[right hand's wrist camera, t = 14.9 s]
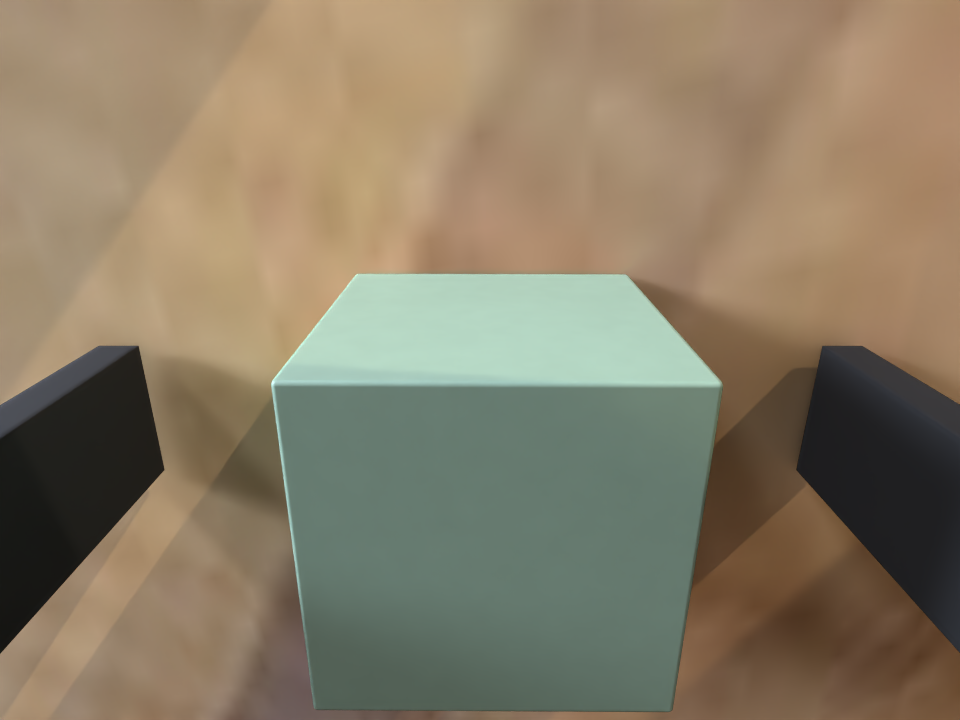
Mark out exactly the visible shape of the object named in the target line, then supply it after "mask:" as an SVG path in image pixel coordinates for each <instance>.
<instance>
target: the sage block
mask: <svg viewBox="0 0 960 720" xmlns="http://www.w3.org/2000/svg"><path fill="white" fill-rule="evenodd" d="M271 386H272V394H273V401H274V409H275V416H276V424H277V432H278V439H279V447H280V454H281V462H282V469H283V477H284V485H285V492H286V500H287V507H288V515H289V522H290V530H291V538H292V545H293V553H294V560H295V568H296V576H297V583H298V591H299V598H300V606H301V613H302V621H303V629H304V636H305V644H306V651H307V659H308V666H309V674H310V682H311V689H312V697H313V704H314V708H315V709H316V710H404V711H574V712H670V711H672V710H673V703H674V697H675V690H676V684H677V678H678V671H679V665H680V658H681V652H682V646H683V639H684V633H685V626H686V620H687V614H688V607H689V601H690V594H691V588H692V582H693V575H694V569H695V563H696V556H697V550H698V543H699V537H700V531H701V524H702V518H703V511H704V505H705V499H706V492H707V486H708V479H709V473H710V467H711V460H712V454H713V447H714V441H715V435H716V428H717V422H718V416H719V409H720V403H721V396H722V390H723V384H722V382H721V380H720V379H719V378H718V377H717V376H716V375H715V374H714V373H713V371H712V370H711V369H710V368H709V367H708V366H707V365H706V364H705V362H704V361H703V360H702V359H701V358H700V357H699V356H698V354H697V353H696V352H695V351H694V350H693V349H692V348H691V347H690V345H689V344H688V343H687V342H686V341H685V340H684V339H683V338H682V336H681V335H680V334H679V333H678V332H677V331H676V330H675V328H674V327H673V326H672V325H671V324H670V323H669V322H668V321H667V319H666V318H665V317H664V316H663V315H662V314H661V313H660V312H659V310H658V309H657V308H656V307H655V306H654V305H653V304H652V303H651V301H650V300H649V299H648V298H647V297H646V296H645V295H644V293H643V292H642V291H641V290H640V289H639V288H638V287H637V286H636V284H635V283H634V282H633V281H632V280H631V279H630V278H629V277H628V276H627V275H606V274H357V275H356V276H355V277H354V278H353V279H352V281H351V282H350V283H349V284H348V286H347V287H346V288H345V290H344V291H343V292H342V293H341V295H340V296H339V297H338V298H337V300H336V301H335V302H334V303H333V305H332V306H331V307H330V309H329V310H328V311H327V312H326V314H325V315H324V316H323V317H322V319H321V320H320V321H319V322H318V324H317V325H316V326H315V327H314V329H313V330H312V331H311V333H310V334H309V335H308V336H307V338H306V339H305V340H304V341H303V343H302V344H301V345H300V346H299V348H298V349H297V350H296V352H295V353H294V354H293V355H292V357H291V358H290V359H289V360H288V362H287V363H286V364H285V365H284V367H283V368H282V369H281V371H280V372H279V373H278V374H277V376H276V377H275V378H274V379H273V381H272V384H271Z"/></svg>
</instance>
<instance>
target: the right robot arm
mask: <svg viewBox="0 0 960 720" xmlns="http://www.w3.org/2000/svg"><path fill="white" fill-rule="evenodd" d="M163 471H164V465H163V461H162V456H161V451H160V446H159V441H158V437H157V432H156V427H155V422H154V418H153V413H152V408H151V403H150V399H149V394H148V389H147V384H146V380H145V375H144V370H143V365H142V360H141V356H140V351H139V346H98V347H96V348H95V349H93V350H91V351H90V352H88V353H86V354H85V355H83V356H81V357H80V358H78V359H76V360H75V361H73V362H71V363H70V364H68V365H66V366H65V367H63V368H61V369H60V370H58V371H56V372H55V373H53V374H51V375H50V376H48V377H46V378H45V379H43V380H41V381H40V382H38V383H36V384H35V385H33V386H31V387H30V388H28V389H26V390H25V391H23V392H22V393H20V394H18V395H17V396H15V397H13V398H12V399H10V400H8V401H7V402H5V403H3V404H2V405H0V653H1V652H2V651H3V650H4V649H5V648H6V647H7V645H8V644H9V643H10V642H11V641H12V640H13V639H14V638H15V637H16V635H17V634H18V633H19V632H20V631H21V630H22V629H23V628H24V626H25V625H26V624H27V623H28V622H29V621H30V620H31V619H32V617H33V616H34V615H35V614H36V613H37V612H38V611H39V610H40V609H41V607H42V606H43V605H44V604H45V603H46V602H47V601H48V600H49V598H50V597H51V596H52V595H53V594H54V593H55V592H56V591H57V590H58V588H59V587H60V586H61V585H62V584H63V583H64V582H65V581H66V579H67V578H68V577H69V576H70V575H71V574H72V573H73V572H74V570H75V569H76V568H77V567H78V566H79V565H80V564H81V563H82V562H83V560H84V559H85V558H86V557H87V556H88V555H89V554H90V553H91V551H92V550H93V549H94V548H95V547H96V546H97V545H98V544H99V543H100V541H101V540H102V539H103V538H104V537H105V536H106V535H107V534H108V532H109V531H110V530H111V529H112V528H113V527H114V526H115V525H116V523H117V522H118V521H119V520H120V519H121V518H122V517H123V516H124V515H125V513H126V512H127V511H128V510H129V509H130V508H131V507H132V506H133V504H134V503H135V502H136V501H137V500H138V499H139V498H140V497H141V496H142V494H143V493H144V492H145V491H146V490H147V489H148V488H149V487H150V485H151V484H152V483H153V482H154V481H155V480H156V479H157V478H158V476H159V475H160V474H161V473H162V472H163ZM797 471H798V472H799V473H800V474H801V476H802V477H803V478H804V479H805V480H806V481H807V482H808V483H809V485H810V486H811V487H812V488H813V489H814V490H815V491H816V492H817V493H818V495H819V496H820V497H821V498H822V499H823V500H824V501H825V502H826V504H827V505H828V506H829V507H830V508H831V509H832V510H833V511H834V513H835V514H836V515H837V516H838V517H839V518H840V519H841V520H842V521H843V523H844V524H845V525H846V526H847V527H848V528H849V529H850V530H851V532H852V533H853V534H854V535H855V536H856V537H857V538H858V539H859V540H860V542H861V543H862V544H863V545H864V546H865V547H866V548H867V549H868V551H869V552H870V553H871V554H872V555H873V556H874V557H875V558H876V559H877V561H878V562H879V563H880V564H881V565H882V566H883V567H884V568H885V570H886V571H887V572H888V573H889V574H890V575H891V576H892V577H893V579H894V580H895V581H896V582H897V583H898V584H899V585H900V586H901V587H902V589H903V590H904V591H905V592H906V593H907V594H908V595H909V596H910V598H911V599H912V600H913V601H914V602H915V603H916V604H917V605H918V606H919V608H920V609H921V610H922V611H923V612H924V613H925V614H926V615H927V617H928V618H929V619H930V620H931V621H932V622H933V623H934V624H935V625H936V627H937V628H938V629H939V630H940V631H941V632H942V633H943V634H944V636H945V637H946V638H947V639H948V640H949V641H950V642H951V643H952V645H953V646H954V647H955V648H956V649H957V650H958V651H959V652H960V405H959V404H958V403H956V402H954V401H953V400H951V399H949V398H948V397H946V396H944V395H943V394H941V393H939V392H938V391H936V390H934V389H933V388H931V387H929V386H928V385H926V384H924V383H923V382H921V381H919V380H918V379H916V378H914V377H913V376H911V375H909V374H908V373H906V372H904V371H903V370H901V369H899V368H898V367H896V366H895V365H893V364H891V363H890V362H888V361H886V360H885V359H883V358H881V357H880V356H878V355H876V354H875V353H873V352H871V351H870V350H868V349H866V348H865V347H863V346H822V351H821V356H820V360H819V365H818V370H817V375H816V379H815V384H814V389H813V394H812V398H811V403H810V408H809V413H808V417H807V422H806V427H805V432H804V436H803V441H802V446H801V451H800V455H799V460H798V465H797Z"/></svg>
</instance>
